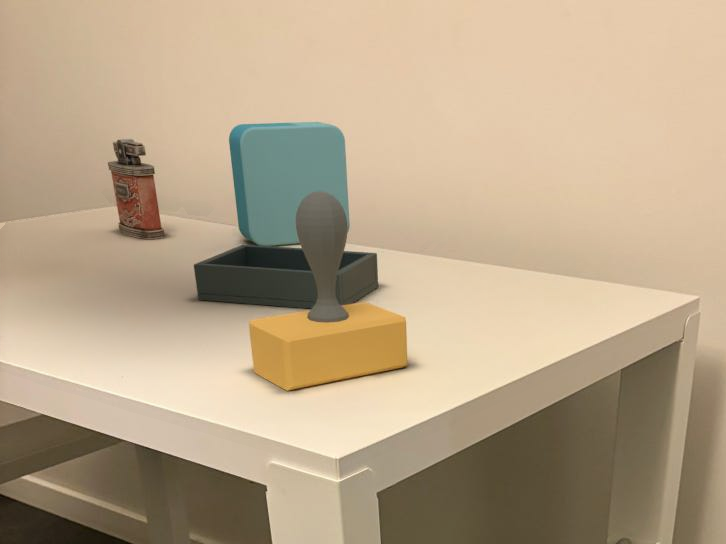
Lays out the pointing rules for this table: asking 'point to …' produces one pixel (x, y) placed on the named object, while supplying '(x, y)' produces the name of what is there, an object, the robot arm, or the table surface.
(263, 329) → the rubber stamp
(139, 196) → the lighter
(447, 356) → the table surface
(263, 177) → the teal rounded flat block
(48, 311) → the table surface
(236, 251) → the holder
